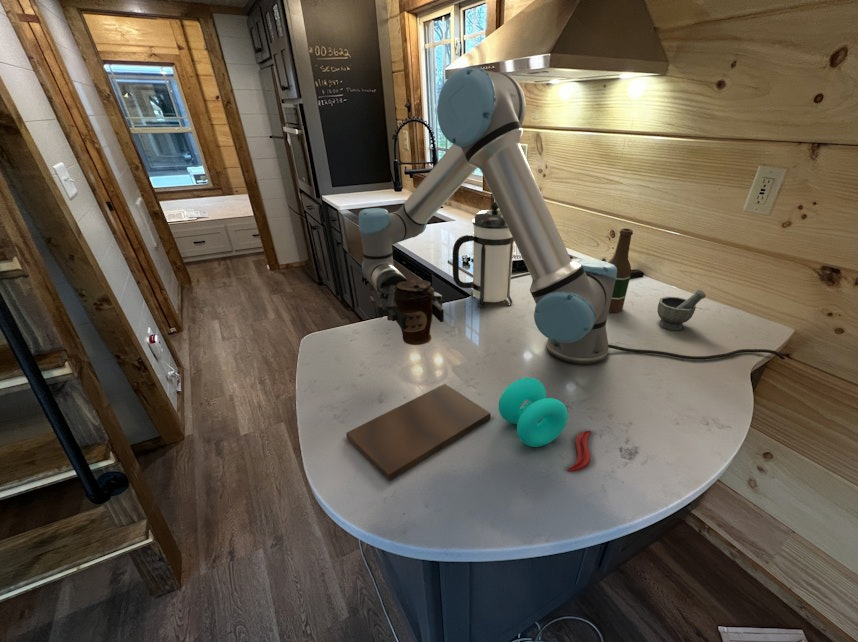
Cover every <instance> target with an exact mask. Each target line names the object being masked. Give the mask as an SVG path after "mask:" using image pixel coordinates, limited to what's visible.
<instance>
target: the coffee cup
mask: <svg viewBox="0 0 858 642" xmlns="http://www.w3.org/2000/svg"><path fill="white" fill-rule="evenodd" d="M396 287H397V288H396V290H395V291H394V297H395V300H396V307H397V308H398V309H399V310H400V311H401V313H402V314H403V315H404V316H405V319H406V329H405V330H403V329H402V328H401V327H400V326H399V327H400V331H401V334H402V341H403V342H404V343H405V344H407V345H410V346H422V345H426V344H429V343H431V341H432V335H431V328H432V322H433V316H434V315H433V309H432V304H433V296H434V291H435V288H433V287H432V283H431V282H430V281H428V280H425V279H409V280H408V281H404V282H400V283H398V284H397V286H396Z"/></svg>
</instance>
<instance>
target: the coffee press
mask: <svg viewBox="0 0 858 642" xmlns="http://www.w3.org/2000/svg"><path fill="white" fill-rule="evenodd" d="M490 207H491V209H486V210H485V209H484V210H481V211H479V212H478V213H476V214H475V216H474V218H473V219H472V225H473V233H472V235H468V234H466V235H462V236H460V237H458V238H457V239H456V240H455V242H454V244H453V247H452V278H453V281H454V283H455V285H456V286H457V287H459V288H462V289H472V291H471V292H470V297H471V298H472V297H474V298H475V299H477V300H478V303H477V307H478V308H480V309H483V308H484V306H485V305H486V303H499V302H504V303H505V305H506V306H511V305H512V304H513V299H512V298H511V286H512V285H511V284H512V269H513V254H514V243H515V241H514V239H513V237H512V235H511V233H510V231H509V229H508V227H507V224H506V222H505V220H504V218H503V216H502V214H501V212H500V210H499V208H498V205H497V203H496V201H493V202H492V203H491V205H490ZM468 242H473V248H472V249H473V254H472V256H473V257H472V280H471V281H468V282H467V281H466V282H465V281H462V280H460V279H461V278H460V249H461V246H462V245H463V244H465V243H468Z"/></svg>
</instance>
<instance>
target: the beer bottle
mask: <svg viewBox="0 0 858 642" xmlns="http://www.w3.org/2000/svg"><path fill="white" fill-rule="evenodd" d="M618 233H619V237H618V239H617V243H616V248H615V250H614V254H613V256H612V257H611V258H610V259H608V261H607V262H608V263H611V264H613V265H614V266H616V268H617V276H616V278H617V280H616V281H615V285H614V289H613V294H612V299H611V303H610V308H609V312H608V313H612V314H613V313H618V312H622V310H623V308H624V305H625V301H626V296H627V291H628V288H629V283H630V279H631V275H632V266H631V262H630V260H629V252H630V246H631V240H632V235H633V234H634V231H633V229H631V228H625V227H624V228H620V229H619V232H618Z"/></svg>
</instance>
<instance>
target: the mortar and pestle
mask: <svg viewBox="0 0 858 642" xmlns="http://www.w3.org/2000/svg"><path fill="white" fill-rule="evenodd" d="M706 297H707V294H706V293H705V291H704V290H702V289H696V291H695V292H694V293H693V294H692V295H691V296H690V297H688V298H687V299H686V298H682V297H679V296H664V297H660V298H659V301H658V304H657V315H658V317H659V319H660V321H659V324H658V325H659V326H661V327H662V328H664V329H667V330H670V331H679V330H682V328H683V324H684V323H686V322H689V321H690V320H691V319H692V317H693V316H694V314H695V311H696V306H697V304H698V303H699V302H700V301H702V300H703V299H705V298H706Z"/></svg>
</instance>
